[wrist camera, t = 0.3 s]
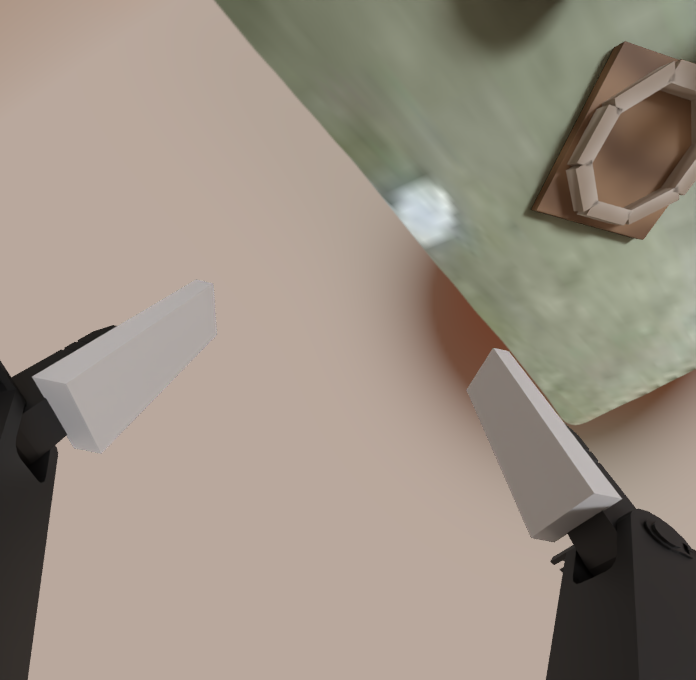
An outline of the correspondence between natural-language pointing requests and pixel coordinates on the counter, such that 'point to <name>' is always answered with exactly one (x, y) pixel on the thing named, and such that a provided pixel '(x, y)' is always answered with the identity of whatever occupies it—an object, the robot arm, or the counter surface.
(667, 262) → the counter surface
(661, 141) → the ring stand
